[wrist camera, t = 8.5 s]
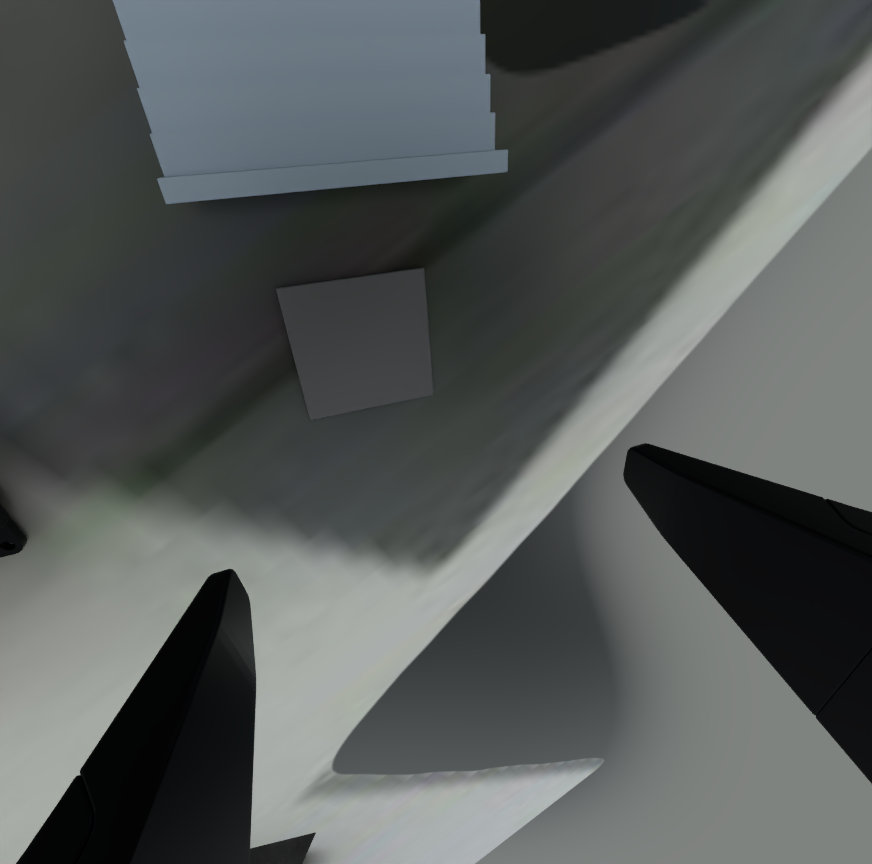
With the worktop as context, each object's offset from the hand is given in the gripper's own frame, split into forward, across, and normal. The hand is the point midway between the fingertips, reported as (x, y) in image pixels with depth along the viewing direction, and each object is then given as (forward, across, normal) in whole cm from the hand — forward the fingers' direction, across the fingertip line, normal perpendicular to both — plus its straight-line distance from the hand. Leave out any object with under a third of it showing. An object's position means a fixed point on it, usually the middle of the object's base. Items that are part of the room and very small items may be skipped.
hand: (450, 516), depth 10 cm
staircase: (+12, 0, -10) cm, 16 cm away
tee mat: (+12, 0, 0) cm, 12 cm away
